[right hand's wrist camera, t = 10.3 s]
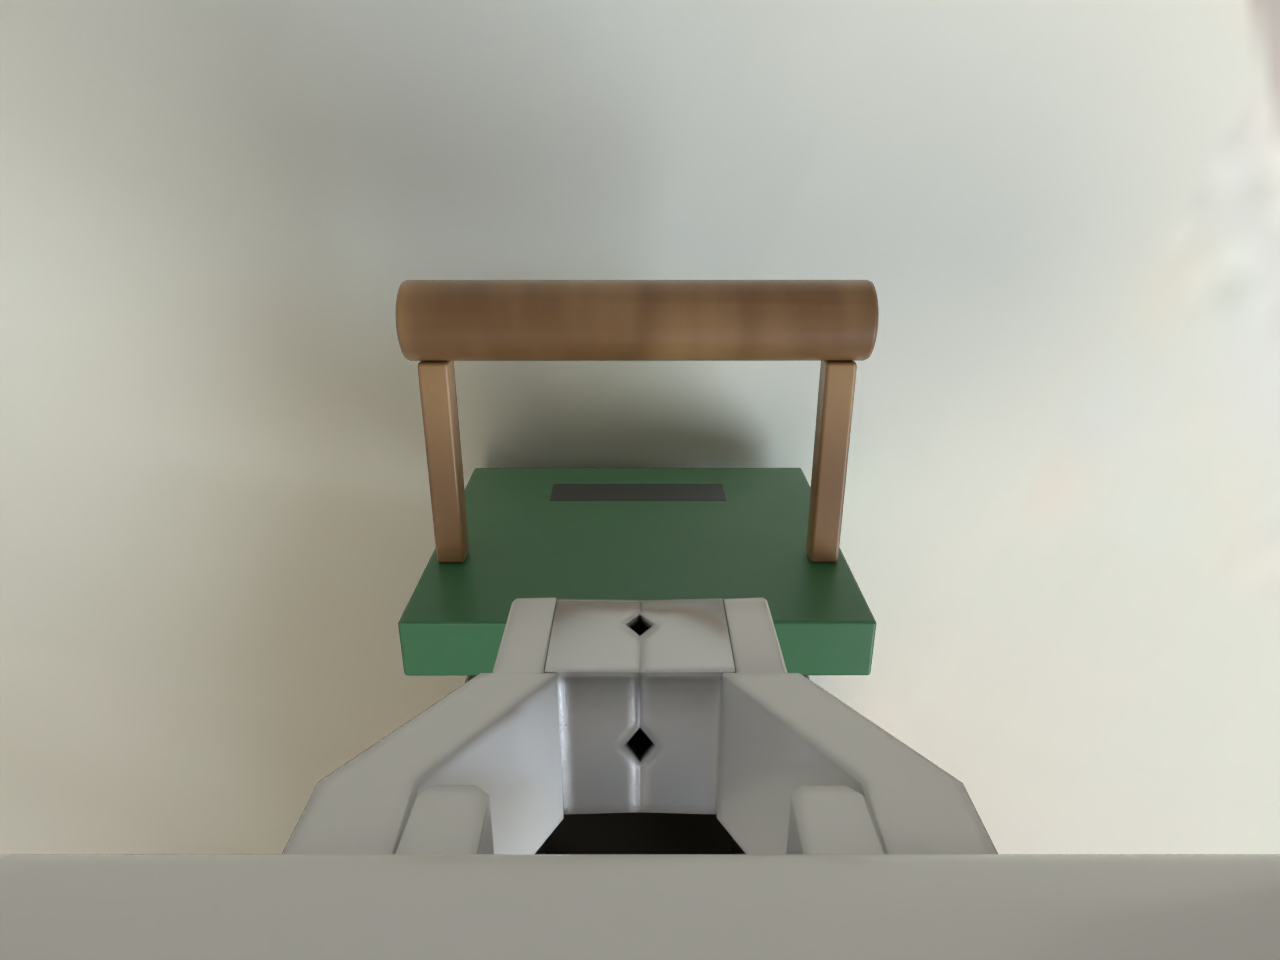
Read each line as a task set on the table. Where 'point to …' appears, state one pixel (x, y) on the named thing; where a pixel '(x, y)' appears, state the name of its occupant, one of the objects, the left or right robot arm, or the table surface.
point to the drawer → (636, 489)
